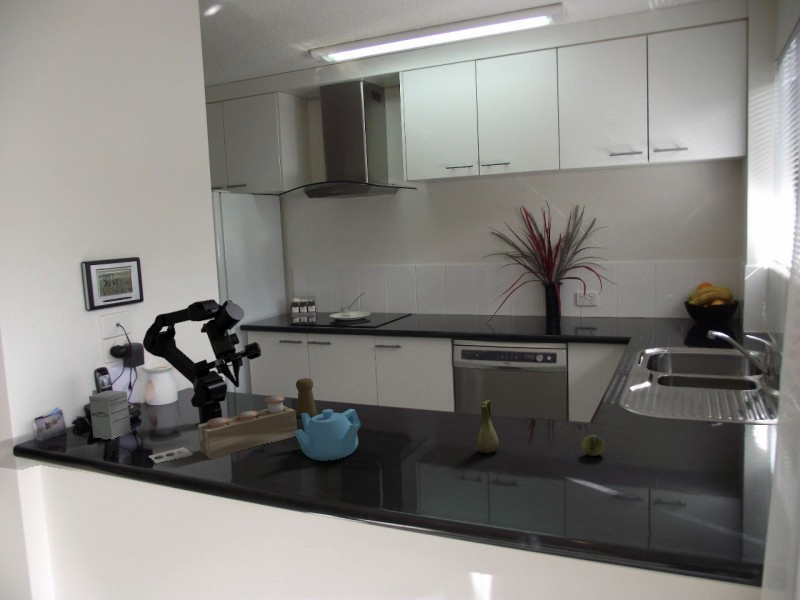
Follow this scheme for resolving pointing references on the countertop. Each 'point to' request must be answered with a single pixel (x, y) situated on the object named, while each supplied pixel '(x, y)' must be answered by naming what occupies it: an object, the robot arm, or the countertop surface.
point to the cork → (305, 397)
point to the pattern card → (170, 455)
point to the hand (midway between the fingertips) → (237, 386)
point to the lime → (593, 445)
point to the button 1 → (217, 422)
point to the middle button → (247, 415)
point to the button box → (247, 432)
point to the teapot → (329, 435)
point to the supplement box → (110, 414)
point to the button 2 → (275, 404)
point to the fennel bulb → (487, 431)
